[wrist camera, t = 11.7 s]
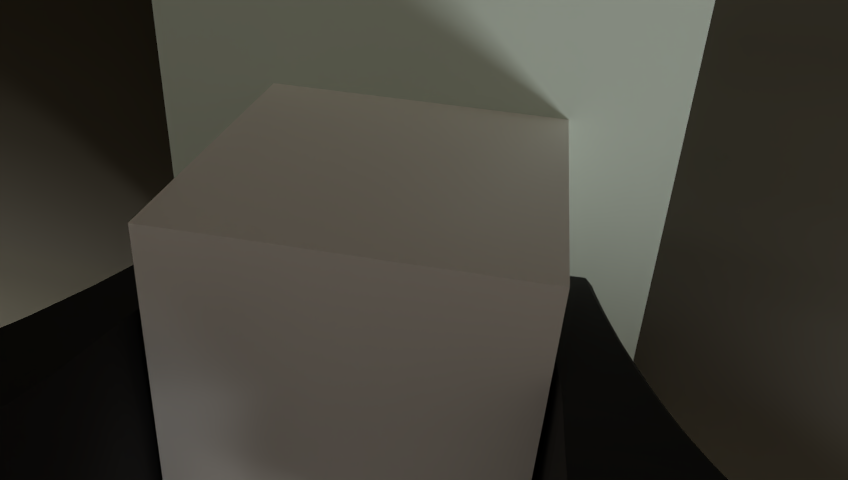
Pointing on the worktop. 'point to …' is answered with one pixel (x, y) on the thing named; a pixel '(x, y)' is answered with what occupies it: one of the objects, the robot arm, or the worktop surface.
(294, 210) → the plug
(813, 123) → the worktop surface
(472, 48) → the mat
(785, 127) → the worktop surface
